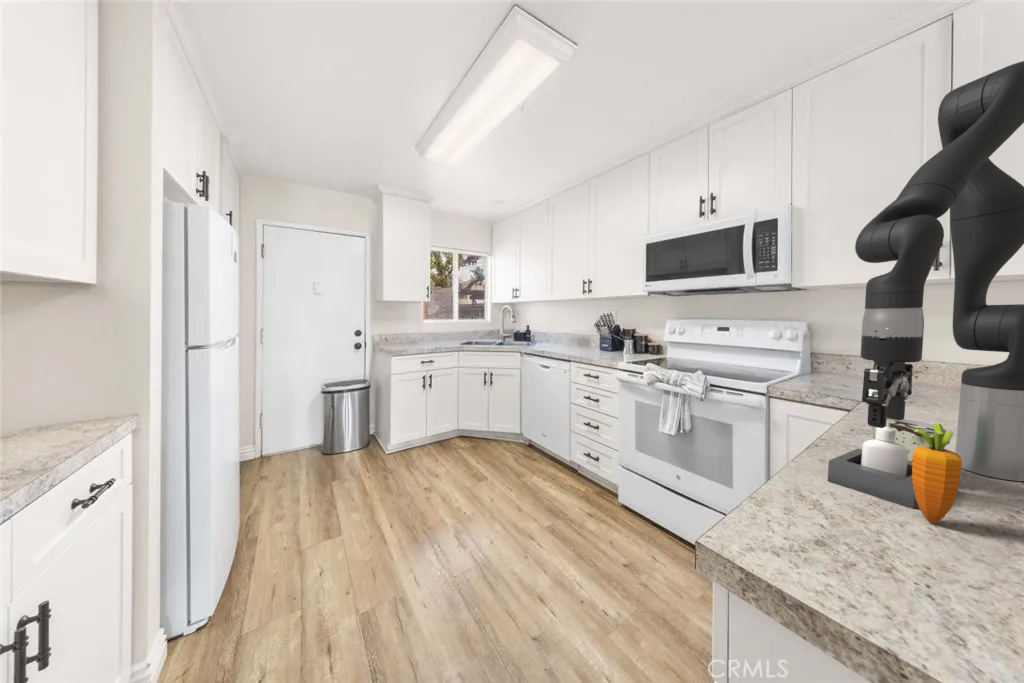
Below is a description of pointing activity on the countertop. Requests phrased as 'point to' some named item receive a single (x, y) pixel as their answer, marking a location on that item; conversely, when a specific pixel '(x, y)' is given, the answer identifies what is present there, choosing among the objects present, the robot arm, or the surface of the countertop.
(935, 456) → the carrot
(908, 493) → the grey square frame
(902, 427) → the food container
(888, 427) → the eye dropper bottle
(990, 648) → the countertop surface
